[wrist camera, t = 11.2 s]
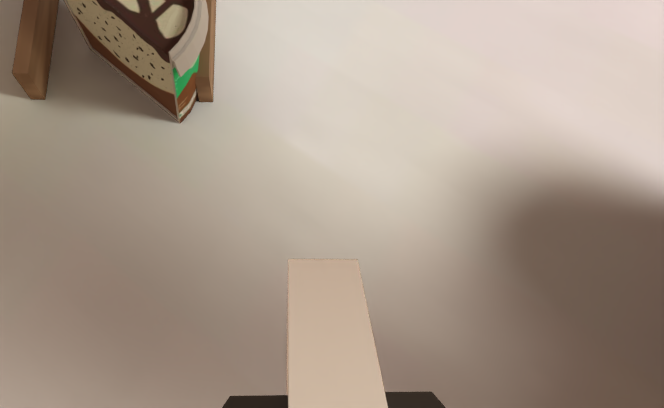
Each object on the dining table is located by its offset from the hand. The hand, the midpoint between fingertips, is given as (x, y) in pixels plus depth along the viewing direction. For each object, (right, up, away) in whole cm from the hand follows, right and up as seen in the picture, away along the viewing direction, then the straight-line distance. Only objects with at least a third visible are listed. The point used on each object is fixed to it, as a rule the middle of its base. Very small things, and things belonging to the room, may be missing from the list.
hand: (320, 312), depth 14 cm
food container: (-13, +13, +33) cm, 38 cm away
